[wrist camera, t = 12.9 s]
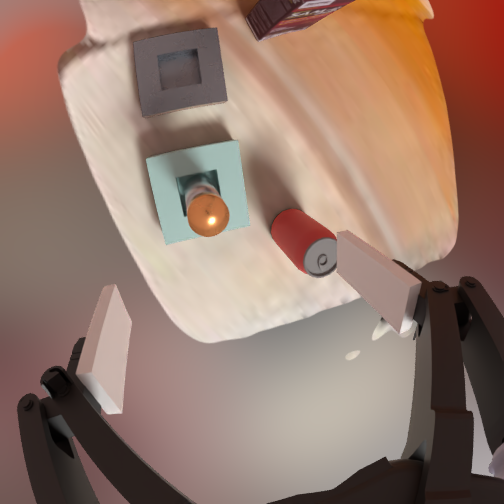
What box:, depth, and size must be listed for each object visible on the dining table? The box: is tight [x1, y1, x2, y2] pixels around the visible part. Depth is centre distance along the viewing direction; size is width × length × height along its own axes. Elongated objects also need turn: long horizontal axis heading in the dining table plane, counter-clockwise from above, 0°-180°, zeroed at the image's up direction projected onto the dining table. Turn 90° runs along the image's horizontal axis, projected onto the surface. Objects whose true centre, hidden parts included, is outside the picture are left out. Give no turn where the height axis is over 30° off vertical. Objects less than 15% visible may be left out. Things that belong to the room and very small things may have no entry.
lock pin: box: [184, 175, 230, 237], centre depth 33 cm, size 4×4×14 cm
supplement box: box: [246, 0, 355, 42], centre depth 24 cm, size 9×5×16 cm, turn 115°
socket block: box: [146, 140, 250, 245], centre depth 38 cm, size 12×12×4 cm
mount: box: [133, 28, 228, 118], centre depth 30 cm, size 11×11×3 cm
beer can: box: [271, 209, 337, 278], centre depth 40 cm, size 7×7×12 cm
